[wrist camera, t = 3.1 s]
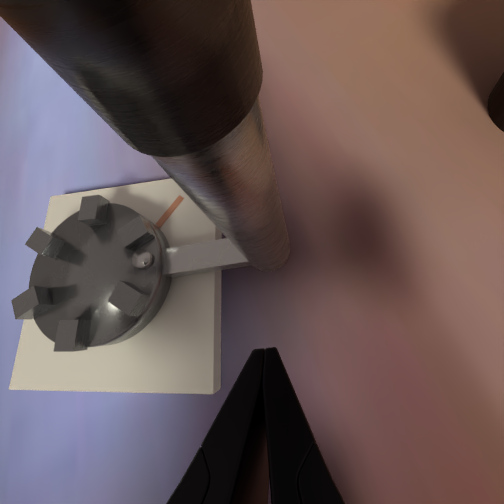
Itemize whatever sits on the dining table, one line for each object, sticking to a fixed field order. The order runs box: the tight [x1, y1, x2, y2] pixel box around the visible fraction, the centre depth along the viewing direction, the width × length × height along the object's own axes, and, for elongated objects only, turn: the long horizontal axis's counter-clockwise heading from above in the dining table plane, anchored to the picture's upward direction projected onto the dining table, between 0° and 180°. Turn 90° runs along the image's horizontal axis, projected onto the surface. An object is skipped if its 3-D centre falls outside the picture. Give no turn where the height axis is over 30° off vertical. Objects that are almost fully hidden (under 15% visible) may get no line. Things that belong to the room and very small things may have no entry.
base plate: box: [9, 178, 222, 394], centre depth 20 cm, size 16×16×2 cm
